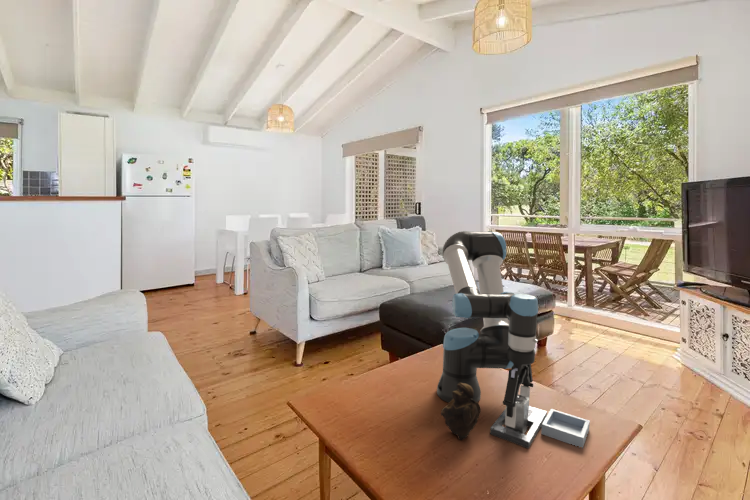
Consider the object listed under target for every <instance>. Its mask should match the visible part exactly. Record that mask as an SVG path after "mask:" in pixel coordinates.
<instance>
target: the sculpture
mask: <svg viewBox="0 0 750 500" xmlns="http://www.w3.org/2000/svg"><path fill="white" fill-rule="evenodd" d="M457 387H458V390H456V391H453V392H452V394H453V398H454V399H452V400H451V401H450V402H449V403H447V405H446V406H444V407H443V408H442V409H441V411H440V416H441V417H442V418H443V419H444V423H445V426H446V427H448V429H449V430H450V432H451V434H453V435H456V436H457V439H458V440H459V441H464V440H465V439H466V438H467V437H468V436H469V435H470V433H471V431H472V430H473V429H474V428H475V426H476V425H477V423H478V419H480V415H481V413H482V412H481V410H482V409H481V405H480V404H479V401H478V402H475V401H474V400H473V396H474V391H473V389H472V387H471V386H470V385H468V384H465V383H458V385H457Z"/></svg>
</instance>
